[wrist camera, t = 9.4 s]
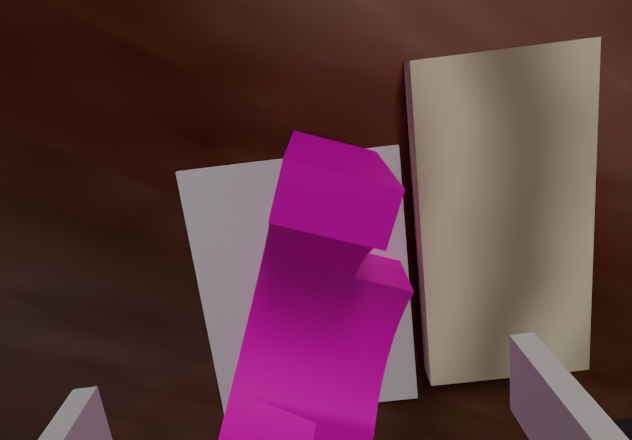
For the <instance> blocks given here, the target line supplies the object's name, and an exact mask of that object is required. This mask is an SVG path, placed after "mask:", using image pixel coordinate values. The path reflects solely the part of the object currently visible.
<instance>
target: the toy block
mask: <svg viewBox="0 0 632 440" xmlns="http://www.w3.org/2000/svg"><path fill="white" fill-rule="evenodd" d="M404 192H405V189H404V187H403V186H402V185H401V183H400V182H399V181H398V179H397V178H396V177H395V175H394V174H393V173H392V171H391V170H390V169H389V167H388V166H387V165H386V163H385V162H384V161H383V159H382V158H381V157H380V156H379V154H378V153H377V152H376V151H372V150H368V149H364V148H360V147H357V146H353V145H349V144H345V143H341V142H337V141H333V140H329V139H325V138H321V137H317V136H313V135H309V134H305V133H301V132H297V131H294V132H293V134H292V137H291V139H290V142H289V145H288V147H287V150H286V152H285V155H284V158H283V161H282V165H281V169H280V174H279V178H278V182H277V187H276V191H275V195H274V199H273V204H272V208H271V212H270V216H269V221H268V223H269V228H268V233H267V238H266V243H265V248H264V252H263V257H262V261H261V266H260V270H259V275H258V279H257V283H256V288H255V292H254V296H253V301H252V305H251V309H250V313H249V317H248V322H247V326H246V330H245V334H244V338H243V342H242V347H241V351H240V355H239V359H238V363H237V367H236V371H235V375H234V379H233V383H232V387H231V391H230V395H229V399H228V403H227V407H226V411H225V415H224V419H223V423H222V427H221V431H220V435H219V439H218V440H373V437H374V431H375V423H376V415H377V408H378V402H379V396H380V391H381V386H382V381H383V377H384V372H385V368H386V364H387V360H388V356H389V353H390V349H391V346H392V343H393V340H394V337H395V333H396V331H397V328H398V325H399V323H400V320H401V318H402V315H403V313H404V311H405V309H406V306H407V304H408V302H409V300H410V299H411V297H412V295H413V293H414V290H413V288H412V286H411V284H410V281H409V279H408V277H407V275H406V272H405V270H404V268H403V266H402V263H401V261H400V260H395V259H391V258H387V257H383V256H379V255H374V254H370V253H369V252H370V251H371V250H372V249H374V248H375V249H379V250H383V251H386V250H387V247H388V243H389V240H390V237H391V234H392V230H393V227H394V224H395V221H396V218H397V214H398V211H399V208H400V205H401V201H402V198H403V195H404Z"/></svg>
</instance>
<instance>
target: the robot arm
mask: <svg viewBox="0 0 632 440" xmlns="http://www.w3.org/2000/svg"><path fill="white" fill-rule="evenodd" d="M510 409H511V411H512V412H513V414H514V416H515V417H516V419H517V421H518V422H519V424H520V425H521V427H522V429H523V430H524V432H525V433H526V435H527V437H528V438H529V440H632V418H627V419H619V420H611V418H610V417H609V416H608V415H607V414H606V413H605V412H604V411H603V409H602V408H601V407H600V406H599V405H598V404H597V403H596V402H595V400H594V399H593V398H592V397H591V396H590V395H589V394H588V393H587V392H586V390H585V389H584V388H583V387H582V386H581V385H580V384H579V383H578V381H577V380H576V379H575V378H574V377H573V376H572V375H571V374H570V372H569V371H568V370H567V369H566V368H565V367H564V366H563V365H562V363H561V362H560V361H559V360H558V359H557V358H556V357H555V356H554V355H553V353H552V352H551V351H550V350H549V349H548V348H547V347H546V346H545V344H544V343H543V342H542V341H541V340H540V339H539V338H538V337H537V335H536V334H535V333H534V332H531V333H523V334H515V335H510ZM38 440H112V436H111V433H110V429H109V426H108V422H107V419H106V415H105V412H104V408H103V405H102V401H101V398H100V394H99V391H98V387H89V388H81V389H73V390H72V392H71V393H70V395H69V396H68V398H67V399H66V400H65V402H64V403H63V405H62V406H61V408H60V409H59V410H58V412H57V413H56V415H55V416H54V418H53V419H52V420H51V422H50V423H49V425H48V426H47V428H46V429H45V430H44V432H43V433H42V435H41V436H40V437H39V439H38Z"/></svg>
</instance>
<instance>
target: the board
mask: <svg viewBox="0 0 632 440" xmlns="http://www.w3.org/2000/svg"><path fill="white" fill-rule="evenodd" d="M600 49H601V37H595V38H587V39H579V40H571V41H563V42H555V43H547V44H539V45H531V46H523V47H515V48H508V49H500V50H492V51H484V52H476V53H468V54H460V55H452V56H444V57H436V58H428V59H420V60H412V61H404V75H405V90H406V104H407V119H408V133H409V148H410V163H411V177H412V192H413V206H414V221H415V236H416V250H417V265H418V279H419V294H420V308H421V323H422V338H423V352H424V367H425V371H426V374H427V376H428V379H429V382H430V384H431V386H435V385H445V384H454V383H464V382H474V381H483V380H493V379H503V378H510V335H515V334H523V333H531V332H534V333H535V334H536V335H537V337H538V338H539V339H540V340H541V341H542V342H543V343H544V344H545V346H546V347H547V348H548V349H549V350H550V351H551V352H552V353H553V355H554V356H555V357H556V358H557V359H558V360H559V361H560V362H561V363H562V365H563V366H564V367H565V368H566V369H567V370H568V371H569V372H570V371H580V370H589V355H590V327H591V299H592V272H593V244H594V216H595V188H596V160H597V132H598V104H599V76H600Z"/></svg>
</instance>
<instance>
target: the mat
mask: <svg viewBox="0 0 632 440" xmlns="http://www.w3.org/2000/svg"><path fill="white" fill-rule="evenodd" d="M366 149H368V150H372V151H376V152H377V153H378V154H379V156H380V157H381V158H382V159H383V161H384V162H385V163H386V165H387V166H388V167H389V169H390V170H391V171H392V173H393V174H394V175H395V177H396V178H397V179H398V181H399V182H400V183H401V185H402V179H401V165H400V152H399V145H391V146H383V147H375V148H366ZM282 161H283V159H275V160H266V161H258V162H250V163H241V164H233V165H225V166H216V167H208V168H200V169H191V170H183V171H177V172H175V173H176V178H177V183H178V188H179V193H180V198H181V203H182V208H183V213H184V217H185V222H186V227H187V232H188V237H189V242H190V247H191V252H192V257H193V262H194V267H195V272H196V277H197V282H198V287H199V292H200V297H201V302H202V307H203V312H204V317H205V322H206V327H207V332H208V337H209V341H210V346H211V351H212V356H213V361H214V366H215V371H216V376H217V381H218V386H219V391H220V396H221V401H222V406H223V411H224V415H225V411H226V407H227V403H228V399H229V395H230V391H231V387H232V383H233V379H234V375H235V371H236V367H237V363H238V359H239V355H240V351H241V347H242V342H243V338H244V334H245V330H246V326H247V322H248V317H249V313H250V309H251V305H252V301H253V296H254V292H255V288H256V283H257V279H258V275H259V270H260V266H261V261H262V257H263V252H264V248H265V243H266V238H267V233H268V228H269V223H268V221H269V216H270V212H271V208H272V204H273V199H274V195H275V191H276V187H277V182H278V178H279V174H280V169H281V165H282ZM369 253H370V254H374V255H379V256H383V257H387V258H391V259H395V260H400V261H401V263H402V266H403V268H404V270H405V272H406V275H407V277H408V279H409V273H408V260H407V246H406V233H405V219H404V206H403V198H402V201H401V205H400V208H399V211H398V214H397V218H396V221H395V224H394V227H393V230H392V234H391V237H390V240H389V243H388V247H387V250H386V251H383V250H379V249H375V248H374V249H372V250H371V251H370V252H369ZM415 398H418V394H417V381H416V367H415V354H414V341H413V327H412V314H411V300H409V302H408V304H407V306H406V309H405V311H404V313H403V315H402V318H401V320H400V323H399V325H398V328H397V331H396V333H395V337H394V340H393V343H392V346H391V349H390V353H389V356H388V360H387V364H386V368H385V372H384V377H383V381H382V386H381V391H380V396H379V402H386V401H395V400H405V399H415Z"/></svg>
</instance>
